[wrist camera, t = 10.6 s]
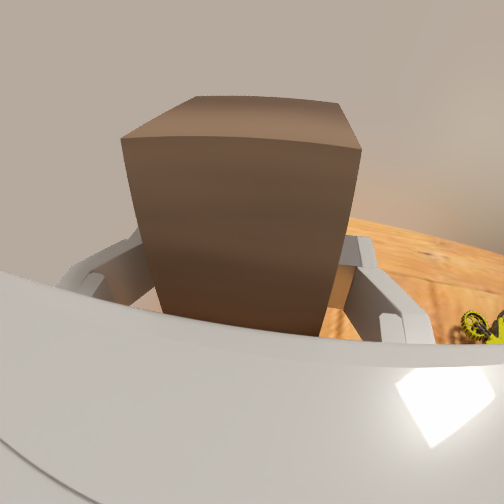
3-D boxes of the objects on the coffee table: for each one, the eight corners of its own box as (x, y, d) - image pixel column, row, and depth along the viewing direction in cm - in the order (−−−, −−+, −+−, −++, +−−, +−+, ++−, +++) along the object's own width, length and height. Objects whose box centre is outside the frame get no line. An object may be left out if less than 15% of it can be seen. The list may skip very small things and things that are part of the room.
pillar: (296, 402, 11) (361, 148, 5) (189, 384, 11) (120, 138, 5) (304, 318, 14) (338, 103, 8) (215, 306, 15) (195, 96, 9)
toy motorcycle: (525, 295, 24) (548, 339, 19) (511, 316, 27) (530, 358, 22) (465, 301, 25) (489, 356, 19) (449, 324, 27) (469, 377, 22)
